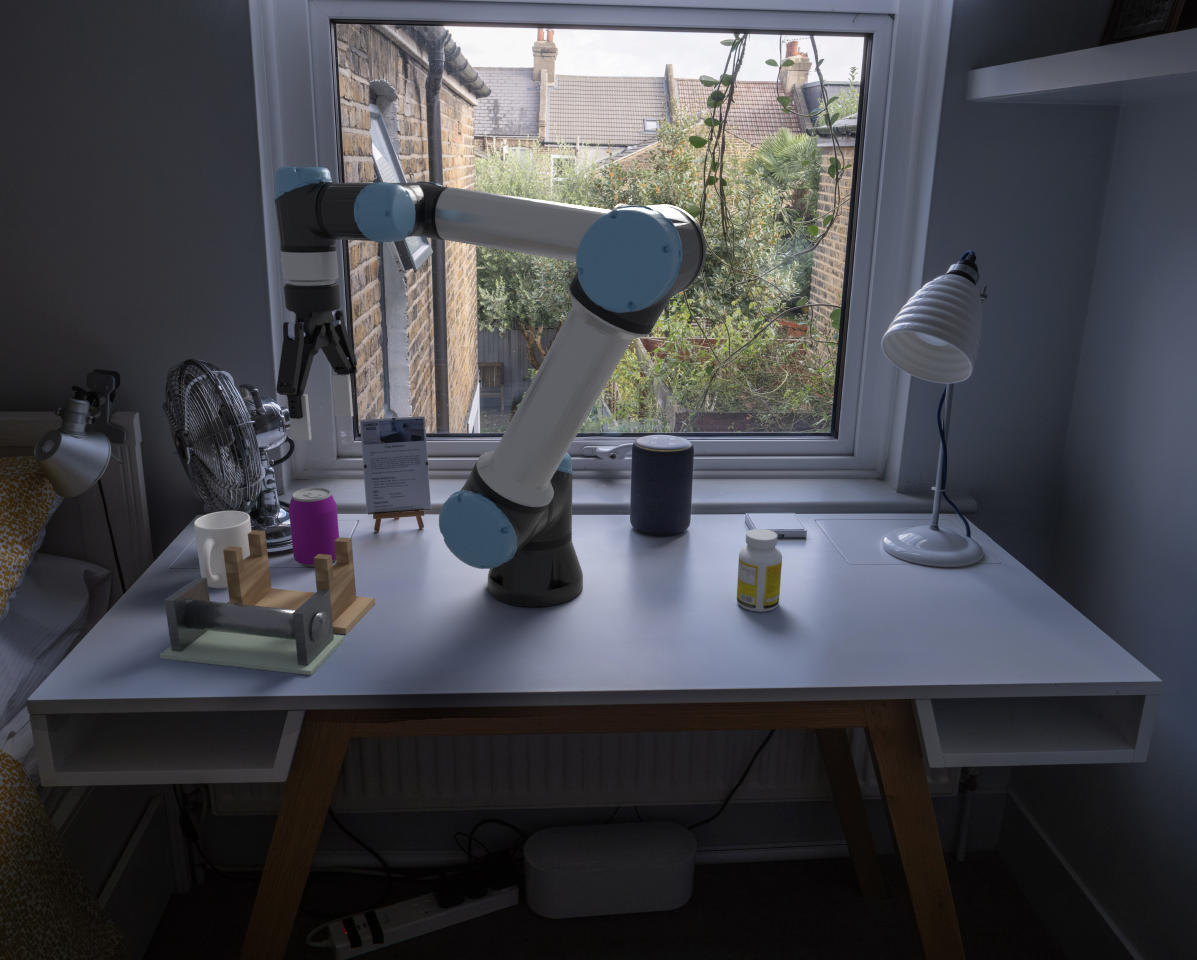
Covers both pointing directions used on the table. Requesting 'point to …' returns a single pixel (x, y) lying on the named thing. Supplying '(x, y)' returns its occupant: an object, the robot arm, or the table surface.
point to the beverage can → (313, 524)
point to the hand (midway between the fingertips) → (323, 427)
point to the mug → (220, 542)
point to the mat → (250, 652)
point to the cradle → (255, 589)
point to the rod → (249, 620)
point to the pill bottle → (759, 571)
